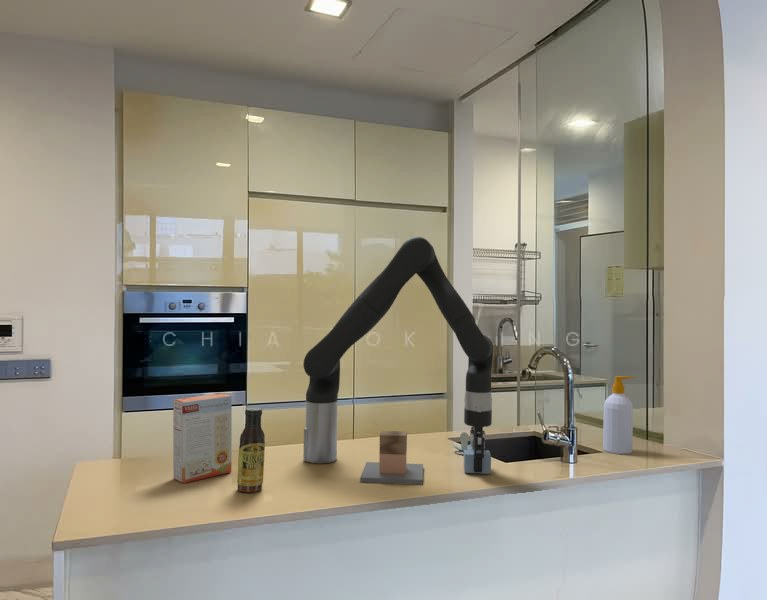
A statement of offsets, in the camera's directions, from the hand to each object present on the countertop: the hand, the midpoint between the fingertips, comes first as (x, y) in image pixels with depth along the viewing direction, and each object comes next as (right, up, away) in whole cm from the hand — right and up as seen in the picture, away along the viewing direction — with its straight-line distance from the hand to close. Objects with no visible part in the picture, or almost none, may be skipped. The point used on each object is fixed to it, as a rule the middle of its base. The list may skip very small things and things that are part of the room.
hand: (476, 468), depth 156 cm
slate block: (0, -1, 0) cm, 1 cm away
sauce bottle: (-59, 0, -17) cm, 61 cm away
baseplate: (-23, 0, -4) cm, 24 cm away
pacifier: (0, -1, +19) cm, 19 cm away
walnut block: (-23, +6, -4) cm, 24 cm away
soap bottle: (+49, -2, +24) cm, 55 cm away
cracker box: (-74, 0, -7) cm, 74 cm away
